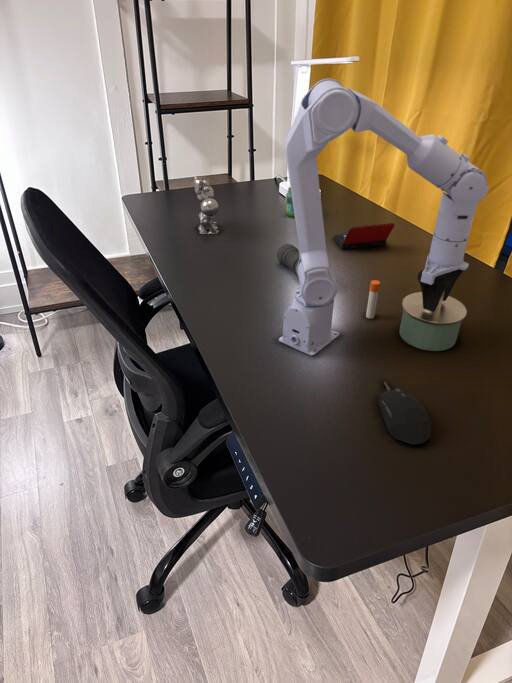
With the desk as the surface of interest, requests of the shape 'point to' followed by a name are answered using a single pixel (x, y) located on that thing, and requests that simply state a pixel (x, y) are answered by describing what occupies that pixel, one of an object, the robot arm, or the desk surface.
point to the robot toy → (206, 205)
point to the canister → (428, 334)
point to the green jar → (289, 204)
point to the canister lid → (443, 315)
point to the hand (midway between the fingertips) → (434, 304)
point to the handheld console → (364, 236)
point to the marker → (372, 299)
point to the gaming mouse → (404, 416)
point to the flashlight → (288, 256)
